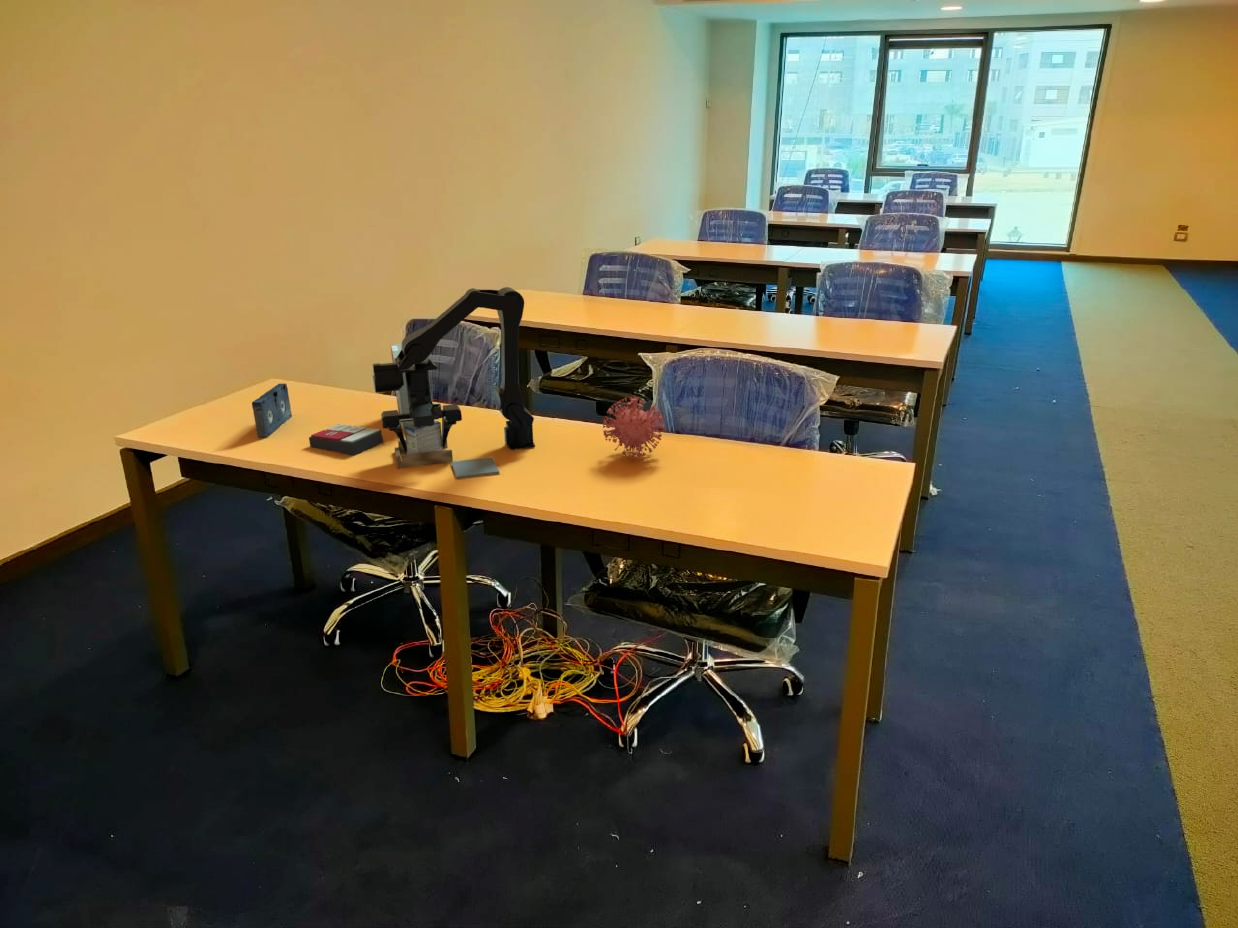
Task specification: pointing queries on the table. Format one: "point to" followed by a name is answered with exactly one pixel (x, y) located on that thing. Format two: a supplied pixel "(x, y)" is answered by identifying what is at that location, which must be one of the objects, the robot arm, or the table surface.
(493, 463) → the rubber mat
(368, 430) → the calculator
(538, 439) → the table surface
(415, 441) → the medicine box
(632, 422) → the virus model
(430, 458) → the wooden rack
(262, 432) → the vhs cassette tape
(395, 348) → the hard drive box
